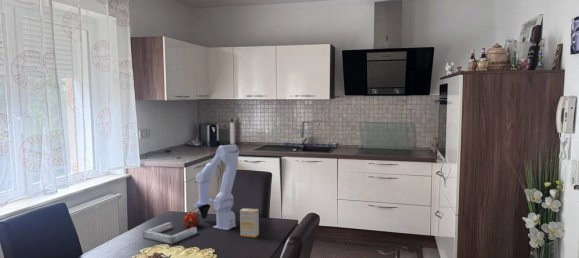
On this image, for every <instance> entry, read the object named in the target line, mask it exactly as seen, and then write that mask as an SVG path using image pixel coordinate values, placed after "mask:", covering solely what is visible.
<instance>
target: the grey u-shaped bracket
mask: <svg viewBox="0 0 579 258" xmlns="http://www.w3.org/2000/svg"><path fill="white" fill-rule="evenodd" d="M171 229H173V223H172V222H170V221H169V222H164V223H162V224H160V225H157V226H155V227H151V228H148V229H146V230H143V231H142V239H146V240H152V241H155V242H160V243H166V244H171V245H173V244H175V243H178V242H180V241H182V240H185V239H187V238H189V237H191V236H194V235H196V234H197V233H198V227H197V226H196V227H191V228H189V229H188V228H186V229H185V230H183V231H180V232H178V233H175V234H173V235H169V234H165V233H163V232H166V231H168V230H171Z"/></svg>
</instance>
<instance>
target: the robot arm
mask: <svg viewBox="0 0 579 258" xmlns="http://www.w3.org/2000/svg"><path fill="white" fill-rule="evenodd" d="M215 151H216V153H215V155H214V156H213V158H212V160H211V162H207V163H206V164H205V166H204V167H203V169H202V170H201V171H200V172H198V173H196V175H195V180H196V182H197V184H198V185H197V186H198V201H197V202H196V203H194V204H193V209H196V210H197V209H198V210H199V213H200V215H201V218H202V219H203V220H206V219H207V216H208V213H209V210H210V208H211V204H212V208H213V209H214V210H215V212H216V213H215V214H216V220H215V221H216V225H214V226H213V225H212V228H214V229H219V230H224V231H228V230H231V229H232V228H235V227H237V225H236V214H235V212H234V211H232V207H234V195H233V194H232V190H233V185H234V183H235V182H234V181H235V178H236V174H237V169H238V167H239V166H238V164H239V155H240V150H239V147H238V145H237V144H235V143H232V144H225V145H223V144H221V145H219V146H218V147H217V149H216V150H215ZM221 161H222V162H223V163H224V164H226V167H225V170H224V174H223V179H222V183H221V187H220V190H219V192H218V193H217V195H216V196H215V198H210V183H211V180H212V176H213V174H214V173H215V172H216V170H217V166H218V165H219V164H220V163H221Z"/></svg>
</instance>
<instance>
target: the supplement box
mask: <svg viewBox="0 0 579 258" xmlns="http://www.w3.org/2000/svg"><path fill="white" fill-rule="evenodd" d="M259 217H260V216H259V208H249V207H248V208H247V207H243V208H241V209H240V210H239V222H240V223H239V226H240V228H239V229H240V230H239V231H240V233H239V234H240V237H246V238H252V239H253V238H254V239H256V238H257V237H258V236H259V235H260V228H259V227H260V226H259V225H260V224H259V222H260V220H259Z"/></svg>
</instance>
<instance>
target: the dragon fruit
mask: <svg viewBox="0 0 579 258" xmlns="http://www.w3.org/2000/svg"><path fill="white" fill-rule="evenodd" d="M199 216H200V214H199V213H197V212H195V211H188V212H187V213H185V214H184V215H183V217H182V223H183V225H184V227H186V229H190V228H192V227H197V226H198V225H199V224H200V217H199Z"/></svg>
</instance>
